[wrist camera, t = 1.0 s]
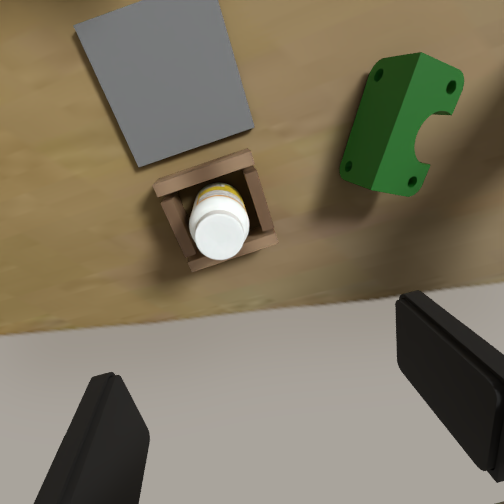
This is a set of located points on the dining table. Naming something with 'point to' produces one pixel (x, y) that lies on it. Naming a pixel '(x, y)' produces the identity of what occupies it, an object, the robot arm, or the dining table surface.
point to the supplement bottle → (219, 221)
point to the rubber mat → (167, 75)
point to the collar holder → (204, 172)
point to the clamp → (397, 121)
